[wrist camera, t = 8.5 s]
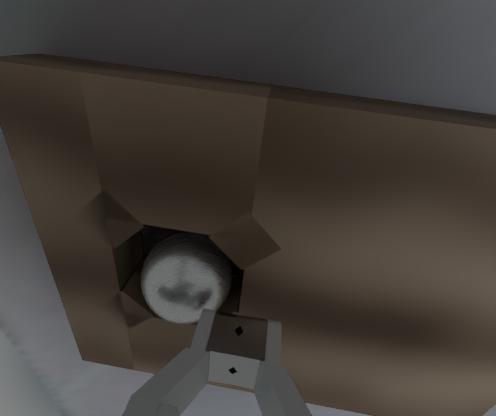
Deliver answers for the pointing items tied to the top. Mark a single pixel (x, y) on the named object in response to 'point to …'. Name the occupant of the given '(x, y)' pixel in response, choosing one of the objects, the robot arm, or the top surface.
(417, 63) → the top surface
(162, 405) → the robot arm
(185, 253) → the steel ball
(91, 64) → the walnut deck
